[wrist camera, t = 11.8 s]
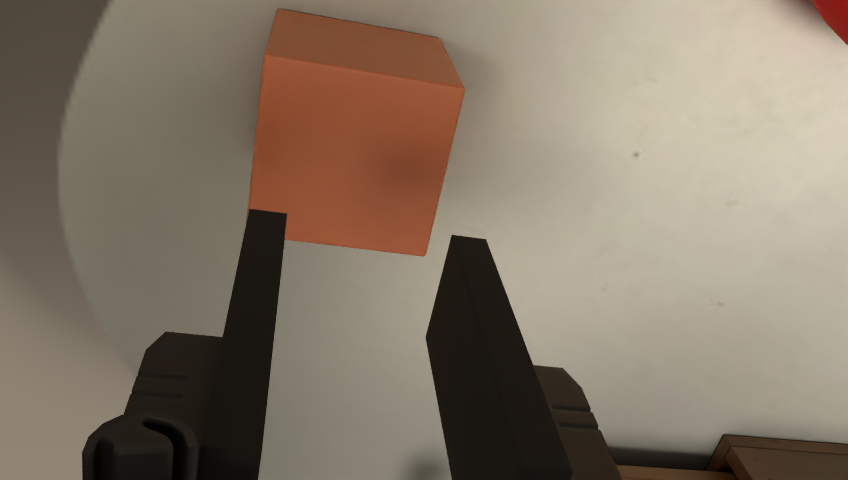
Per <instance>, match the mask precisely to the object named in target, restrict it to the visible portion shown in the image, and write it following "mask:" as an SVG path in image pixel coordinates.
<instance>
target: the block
mask: <svg viewBox="0 0 848 480" xmlns="http://www.w3.org/2000/svg"><path fill="white" fill-rule="evenodd" d="M464 92H465V87H464V85H463V83H462V81H461V79H460V78H459V76H458V74H457V72H456V70H455V68H454V66H453V64H452V62H451V60H450V58H449V56H448V54H447V52H446V50H445V48H444V46H443V44H442V42H441V40H440V39H439V38H437V37H431V36H426V35H421V34H415V33H410V32H404V31H399V30H393V29H388V28H382V27H377V26H371V25H366V24H360V23H355V22H349V21H344V20H338V19H333V18H327V17H322V16H316V15H311V14H305V13H300V12H294V11H289V10H283V9H277V11H276V14H275V17H274V21H273V24H272V28H271V31H270V35H269V38H268V42H267V46H266V49H265V53H264V57H263V66H262V76H261V86H260V95H259V105H258V115H257V124H256V134H255V144H254V153H253V163H252V173H251V182H250V192H249V202H248V211H247V218H248V213H249V209H257V210H264V211H272V212H280V213H287V221H286V231H285V239H286V240H294V241H302V242H310V243H318V244H327V245H335V246H343V247H351V248H359V249H367V250H376V251H384V252H392V253H400V254H408V255H416V256H425V255H426V252H427V248H428V244H429V239H430V235H431V231H432V227H433V223H434V218H435V214H436V210H437V206H438V202H439V197H440V193H441V189H442V185H443V181H444V176H445V172H446V168H447V164H448V160H449V155H450V151H451V147H452V143H453V139H454V134H455V130H456V126H457V122H458V118H459V113H460V109H461V105H462V101H463V97H464ZM246 223H247V221H246Z"/></svg>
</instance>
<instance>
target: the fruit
mask: <svg viewBox="0 0 848 480" xmlns="http://www.w3.org/2000/svg"><path fill="white" fill-rule="evenodd" d="M812 1H813V3H814V5H815V7H816V9H817V10H818V12H819V13H820V15H821V16H822V17H823V19H824V20H825V21H826V23H827V24H828V25H829V26H830V27H831V28H832V29H833V31H834V32H835V33H836V34H837V35H838V36H839V37H840V38H841V39H842V40H843V41H844V42H845V43H846V44H847V45H848V0H812Z"/></svg>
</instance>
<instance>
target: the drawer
mask: <svg viewBox="0 0 848 480" xmlns="http://www.w3.org/2000/svg"><path fill="white" fill-rule="evenodd" d="M616 466H617V469H618V471H619V473H620V475H621V478H622V480H739V479H738V478H737V476H736V475H735V473H726V472H712V471H697V470H683V469H668V468H654V467H639V466H625V465H616Z"/></svg>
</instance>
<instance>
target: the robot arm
mask: <svg viewBox="0 0 848 480" xmlns="http://www.w3.org/2000/svg"><path fill="white" fill-rule="evenodd" d="M286 221H287V213H280V212H272V211H264V210H257V209H249V213H248V218H247V223H246V228H245V232H244V237H243V242H242V247H241V252H240V256H239V261H238V266H237V271H236V276H235V281H234V285H233V290H232V295H231V300H230V305H229V309H228V314H227V319H226V324H225V329H224V334H223V337H215V336H205V335H194V334H184V333H174V332H165V333H164V334H163V335H162V336H160V337H159V338H158V339H157V340H156V341H155V342H154V343H153V344H152V345H151V346H150V347H148V348H147V349H146V351H145V354H144V357H143V360H142V363H141V366H140V369H139V372H138V376H137V377H136V380H135V383H134V386H133V389H132V394H131V395H130V397H129V400H128V403H127V406H126V409H125V412H124V415H121V416H119V417H116V418H114V419H112V420H110V421H108V422H105V423H103V424H102V425H101V426H100V427H99V428H98V429H97V430H96V431H94V432H93V433H92V434H91V435H90V436H89V437H88V440H87V442H86V444H85V447H84V449H83V452H82V464H83V465H82V467H83V470H82V471H83V480H258V474H259V467H260V460H261V452H262V443H263V434H264V425H265V416H266V406H267V397H268V388H269V379H270V369H271V360H272V351H273V342H274V332H275V323H276V314H277V305H278V295H279V286H280V277H281V268H282V258H283V249H284V240H285V231H286ZM426 342H427V347H428V353H429V358H430V363H431V369H432V374H433V380H434V385H435V390H436V396H437V401H438V406H439V412H440V417H441V422H442V428H443V433H444V439H445V444H446V449H447V455H448V460H449V465H450V471H451V476H452V480H622V478H621V475H620V473H619V471H618V469H617V466H616V464H615V462H614V460H613V458H612V455H611V453H610V451H609V449H608V446H607V444H606V442H605V440H604V437H603V435H602V433H601V431H600V430H598V424H597V422H596V419H595V417H594V415H593V413H591V412H590V409H591V408H590V406H589V404H588V401H587V399H586V397H585V395H584V392H583V390H582V388H581V387H580V386H579V385H578V384H577V382H576V381H575V380H574V379H573V378H572V377H571V376H570V375H569V374H568V373H567V372H566V371H565V370H564V369H563V368H556V367H546V366H536V365H533V364H532V361H531V358H530V356H529V353H528V350H527V348H526V345H525V342H524V340H523V337H522V334H521V332H520V329H519V326H518V324H517V321H516V318H515V316H514V313H513V310H512V308H511V305H510V302H509V300H508V297H507V294H506V292H505V289H504V286H503V284H502V281H501V278H500V276H499V273H498V270H497V268H496V265H495V262H494V260H493V257H492V254H491V252H490V249H489V246H488V244H487V241H486V239H479V238H472V237H464V236H456V235H452V236H451V240H450V244H449V248H448V252H447V256H446V260H445V264H444V268H443V272H442V276H441V279H440V283H439V287H438V291H437V295H436V299H435V303H434V307H433V311H432V315H431V319H430V323H429V327H428V330H427V334H426Z"/></svg>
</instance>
